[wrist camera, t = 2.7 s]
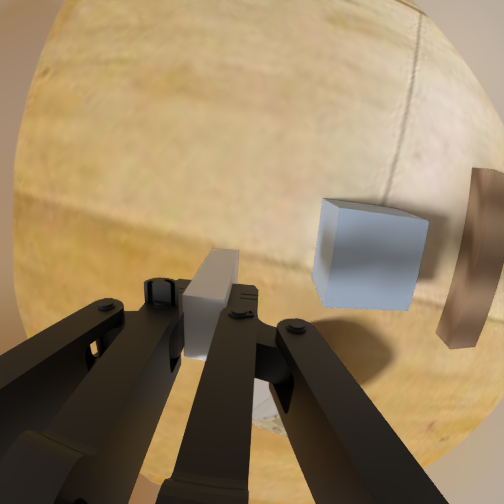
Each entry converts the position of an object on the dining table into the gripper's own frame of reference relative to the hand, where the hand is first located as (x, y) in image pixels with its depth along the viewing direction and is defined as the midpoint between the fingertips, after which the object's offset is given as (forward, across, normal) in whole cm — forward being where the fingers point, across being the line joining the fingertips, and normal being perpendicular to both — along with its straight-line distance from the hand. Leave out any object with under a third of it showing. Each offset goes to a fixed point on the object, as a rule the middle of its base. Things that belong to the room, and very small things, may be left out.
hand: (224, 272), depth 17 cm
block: (+9, +10, 0) cm, 14 cm away
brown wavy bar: (+9, +24, 0) cm, 26 cm away
